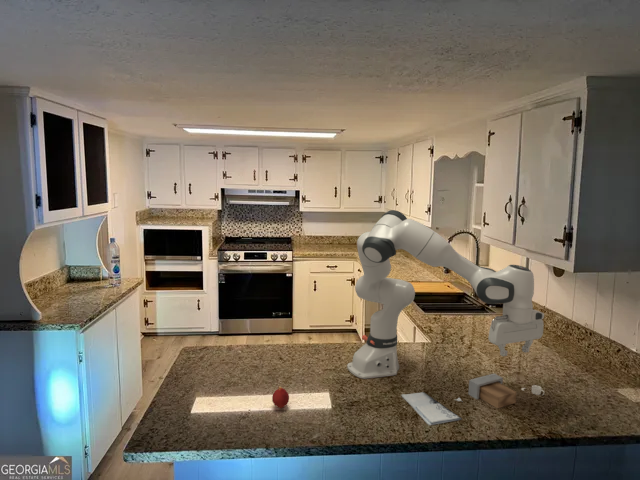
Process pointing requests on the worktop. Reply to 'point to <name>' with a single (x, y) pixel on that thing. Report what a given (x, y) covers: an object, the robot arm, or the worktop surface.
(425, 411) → the bicycle print towel
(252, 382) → the worktop surface
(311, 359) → the worktop surface
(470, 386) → the tunnel
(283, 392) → the onion
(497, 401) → the wood grain block
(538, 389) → the white ring-shaped piece
